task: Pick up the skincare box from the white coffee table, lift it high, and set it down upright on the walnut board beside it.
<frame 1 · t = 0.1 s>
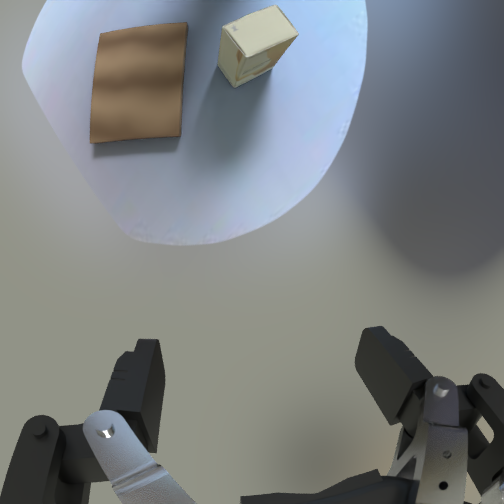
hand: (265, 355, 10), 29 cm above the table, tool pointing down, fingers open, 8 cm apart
skincare box: (245, 66, 32), on the table
walnut board: (139, 82, 31), on the table
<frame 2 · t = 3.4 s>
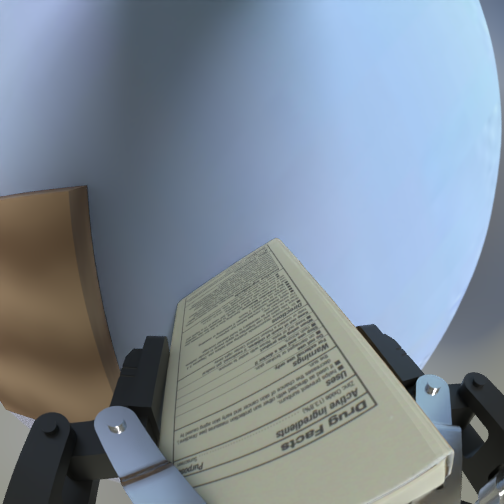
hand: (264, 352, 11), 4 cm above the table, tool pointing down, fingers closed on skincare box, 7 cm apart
skincare box: (249, 296, 15), on the table, touching gripper
walnut board: (29, 322, 14), on the table
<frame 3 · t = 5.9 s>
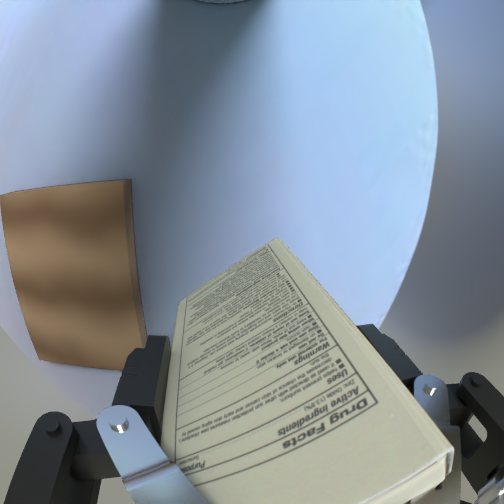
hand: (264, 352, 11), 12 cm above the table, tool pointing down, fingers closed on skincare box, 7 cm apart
skincare box: (250, 296, 15), point 8 cm above the table, touching gripper
walnut board: (75, 279, 21), on the table
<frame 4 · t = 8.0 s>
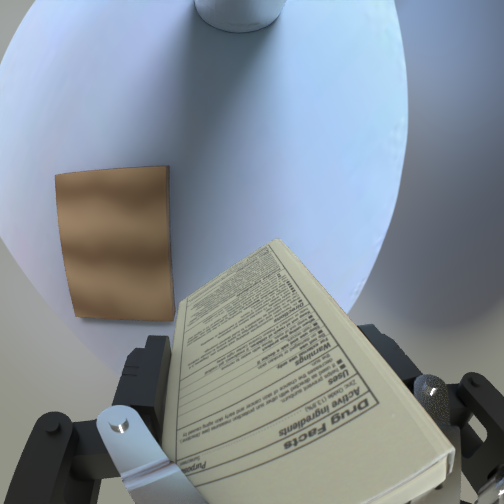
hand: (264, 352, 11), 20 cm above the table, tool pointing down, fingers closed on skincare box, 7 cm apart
skincare box: (251, 296, 15), point 15 cm above the table, touching gripper
walnut board: (116, 244, 28), on the table
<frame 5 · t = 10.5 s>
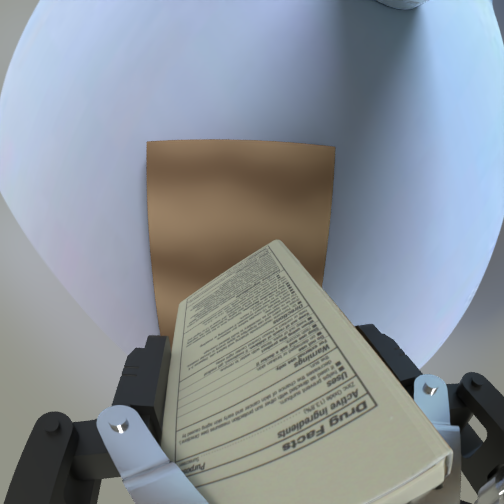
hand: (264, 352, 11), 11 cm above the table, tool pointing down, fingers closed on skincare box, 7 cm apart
skincare box: (250, 297, 15), point 7 cm above the table, touching gripper
walnut board: (238, 253, 21), on the table
when the fingers open (8 cm above the table, at t = 12.3 s): skincare box drops 1 cm, resting on walnut board.
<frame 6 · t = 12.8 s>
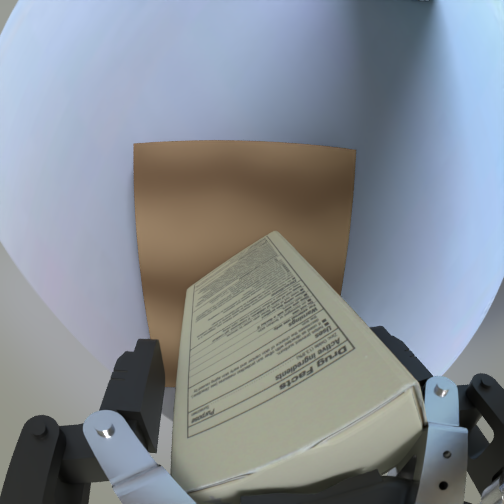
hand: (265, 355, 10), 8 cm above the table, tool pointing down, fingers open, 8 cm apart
skincare box: (251, 284, 17), point 2 cm above the table, touching walnut board
walnut board: (242, 272, 18), on the table
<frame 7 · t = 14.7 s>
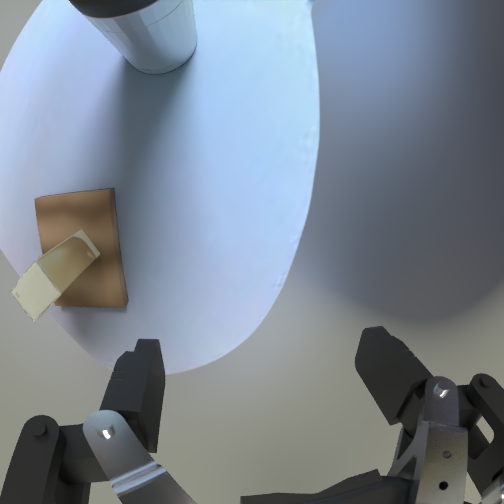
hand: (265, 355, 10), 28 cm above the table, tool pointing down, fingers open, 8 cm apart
skincare box: (79, 253, 33), point 2 cm above the table, touching walnut board
walnut board: (81, 249, 35), on the table
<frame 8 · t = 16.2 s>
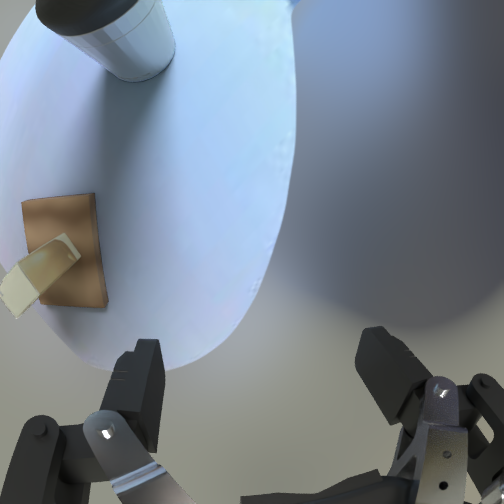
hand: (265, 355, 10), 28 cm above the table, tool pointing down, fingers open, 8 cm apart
skincare box: (61, 254, 34), point 2 cm above the table, touching walnut board
walnut board: (65, 250, 35), on the table
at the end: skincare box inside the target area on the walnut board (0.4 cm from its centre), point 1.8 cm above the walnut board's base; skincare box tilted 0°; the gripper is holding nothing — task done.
